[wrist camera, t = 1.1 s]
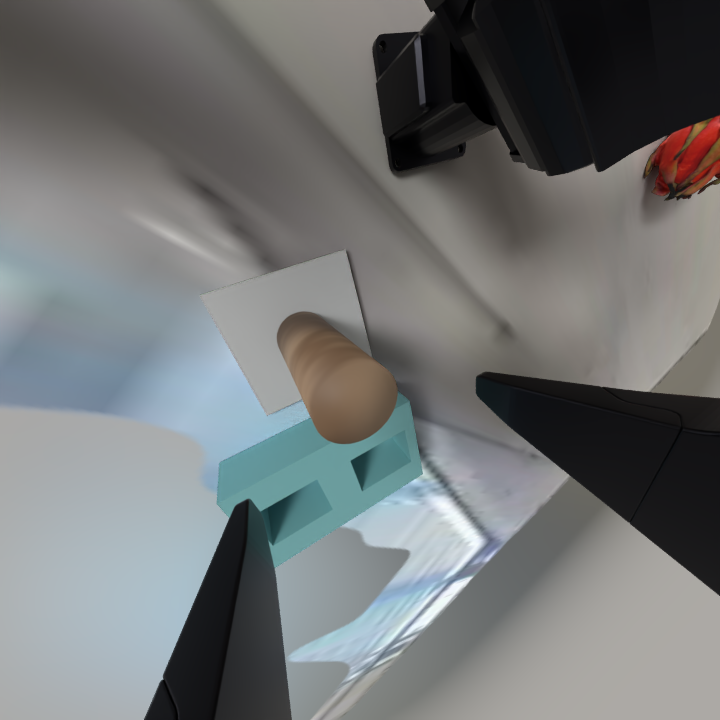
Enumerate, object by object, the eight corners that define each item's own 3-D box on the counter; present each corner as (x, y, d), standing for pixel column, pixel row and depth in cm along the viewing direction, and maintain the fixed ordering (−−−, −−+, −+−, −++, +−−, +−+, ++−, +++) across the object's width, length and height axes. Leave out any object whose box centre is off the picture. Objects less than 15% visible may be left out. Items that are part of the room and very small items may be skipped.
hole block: (386, 380, 25) (409, 401, 22) (401, 448, 30) (422, 473, 26) (219, 462, 21) (216, 503, 17) (269, 526, 26) (274, 568, 22)
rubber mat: (343, 249, 19) (345, 249, 18) (371, 363, 23) (374, 365, 23) (200, 294, 16) (199, 296, 16) (266, 412, 21) (267, 415, 20)
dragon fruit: (680, 112, 31) (601, 202, 34) (751, 25, 23) (641, 152, 26) (766, 135, 28) (673, 232, 31) (880, 46, 20) (741, 186, 23)
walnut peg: (320, 303, 19) (389, 347, 11) (335, 350, 21) (403, 418, 12) (267, 323, 18) (298, 389, 9) (288, 369, 20) (329, 458, 11)
